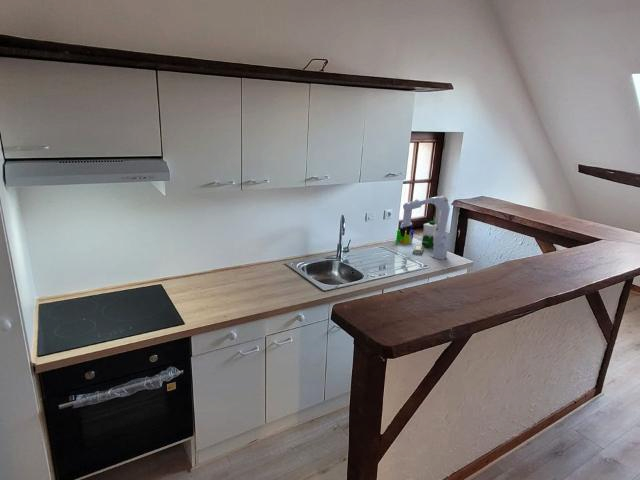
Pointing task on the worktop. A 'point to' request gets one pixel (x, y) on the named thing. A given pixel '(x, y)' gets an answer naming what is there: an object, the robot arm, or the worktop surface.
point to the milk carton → (429, 234)
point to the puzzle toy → (406, 239)
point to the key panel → (418, 251)
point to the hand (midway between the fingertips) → (405, 235)
